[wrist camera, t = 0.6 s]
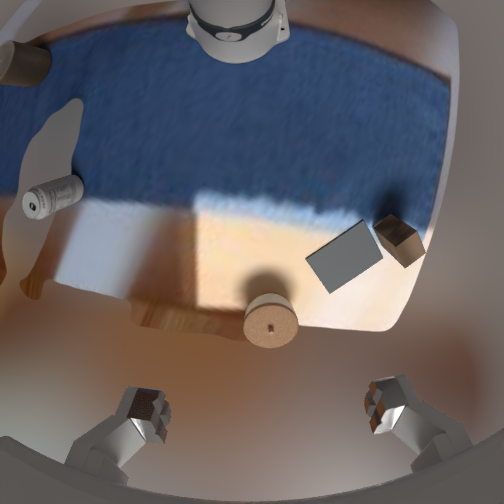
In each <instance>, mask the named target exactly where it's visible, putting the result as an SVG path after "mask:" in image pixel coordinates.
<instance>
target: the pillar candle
mask: <svg viewBox="0 0 504 504" xmlns="http://www.w3.org/2000/svg"><path fill="white" fill-rule="evenodd" d="M51 62H52V56H51V53H50V52H49V51H48V50H45V49H41V48H38V47H34V46H31V45H27V44H23V43H19V42H15V41H5V42H4V43H3V44H2V45H1V46H0V84H5V85H16V86H26V87H35V86H37V85H38V84H40V83H41V82H42V81H43V80H44V78H45V77H46V76H47V74H48V72H49V70H50V67H51Z"/></svg>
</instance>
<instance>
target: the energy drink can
mask: <svg viewBox="0 0 504 504" xmlns="http://www.w3.org/2000/svg"><path fill="white" fill-rule="evenodd" d="M83 190H84V186H83V183H82V181H81V179H80V178H79V177H77V176H76V175H69V176H65V177H63V178H59V179H56V180H52V181H49V182H46V183H43V184H40V185H37V186H34V187H32V188H31V189H30V190H29V191H28V192H27V193H26V194H25V196H24V197H23V210H24V212H25V214H26V215H27V217H29V218H31V219H34V218H35V219H42V218H44V217H46V216H48V215H50V214H52V213H54V212H56V211H58V210H60V209H62V208H64V207H66V206H69V205H71V204H73V203H75V202H77V201H79V200H80V199H81V197H82V194H83Z"/></svg>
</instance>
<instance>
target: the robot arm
mask: <svg viewBox="0 0 504 504" xmlns="http://www.w3.org/2000/svg"><path fill="white" fill-rule="evenodd" d="M188 1H189V2H190V10H191V13H190V15H188V21H189V23H188V25H187V28H186V32H187V34H188V35H189V36H191V37H192V38H194V39H196V40H197V41H198V42H199V43H200V45H201V47H202V48H203V49H204V51H205V52H206V53H207V54H209V55H210V56H211V57H213V58H215V59H217V60H220V61H223V62H228V63H244V62H249V61H252V60H255V59H257V58H259V57H261V56H263V55H264V54H265V53H267V52H268V51H269V50H270V49H271V48H272V47H273V46H274V45H276V44H278V43H281V42H283V41H286V40H287V39H288V38H289V36H290V32H289V25H288V19H287V12H286V6H285V1H284V0H188ZM281 28H284V30H281ZM369 390H370V391H368V392H367V393H366V395H365V400H364V406H365V411H366V414H367V415H369V416H370V417H371V419H370V422H369V423H370V426H371V429H372V432H373V435H374V434H379V433H383V432H387V431H392V432H393V433H394V434H395V435H396V436H398V437H399V438H400V439H401V440H402V441H403V442H404V443H406V444H407V445H408V446H409V447H410V448H411V449H413V450H414V451H415V452H416V453H417V454H419V455H418V457H417V458H416V459H415V460H414V461H413V462H412V464H411V465H410V466H411V469H412V471H413V473H412V474H409V475H406V476H403V477H401V478H397V479H394V480H391V481H388V482H384V483H381V484H377V485H373V486H370V487H365V488H361V489H357V490H353V491H348V492H343V493H338V494H333V495H326V496H319V497H312V498H304V499H295V500H282V501H260V502H259V501H258V502H242V501H241V502H240V501H217V500H205V499H194V498H187V497H179V496H173V495H167V494H161V493H155V492H151V491H146V490H142V489H138V488H133V487H129V486H127V482H128V476H127V475H126V474H125V473H124V472H123V471H122V470H120V467H121V466H122V465H123V464H124V463H125V462H126V461H127V460H128V459H129V458H130V457H132V455H134V454H135V453H136V452H137V451H138V450H139V449H140V448H141V447H142V446H143V445H144V444H145V443H146V442H152V443H159V444H165V439H166V436H167V430H166V428H165V426H167V425H168V424H169V423H170V419H171V408H170V404H169V402H167V401H166V400H165V397H166V396H165V393H164V391H159V390H150V389H144V388H137V387H128V388H126V390H125V392H124V395H123V397H122V399H121V402H120V404H119V406H118V409H117V411H116V414H115V416H114V415H111V416H110V417H108V418H107V419H106V420H104V421H103V422H101V423H100V424H98V425H97V426H96V427H94V428H93V429H91V430H90V431H88V432H87V433H85V434H84V435H82V436H81V437H79V438H78V439H77V440H75V441H74V442H73V445H72V447H71V449H70V451H69V454H68V456H67V458H66V461H65V463H64V464H62V463H60V462H57V461H55V460H53V459H51V458H49V457H47V456H45V455H42V454H40V453H38V452H37V451H35V450H32V449H31V448H29V447H27V446H25V445H23V444H22V443H20V442H18V441H16V440H15V439H13V438H11V437H9V436H3V437H0V504H504V428H503V429H501V430H499V431H498V432H496V433H495V434H493V435H491V436H490V437H488V438H486V439H485V440H483V441H481V442H479V443H478V444H476V445H474V446H473V445H472V443H471V440H470V439H469V436H468V434H467V432H466V430H465V428H464V426H463V425H462V424H461V423H459V422H458V421H456V420H455V419H453V418H451V417H449V416H447V415H446V414H444V413H443V412H441V411H439V410H438V409H436V408H434V407H433V406H431V405H429V404H427V403H426V402H424V401H421V402H420V400H419V398H418V396H417V394H416V392H415V390H414V388H413V386H412V384H411V383H410V381H409V379H408V377H407V375H406V374H401V375H397V376H391V377H388V378H383V379H378V380H373V381H371V382H370V384H369Z"/></svg>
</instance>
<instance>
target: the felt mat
mask: <svg viewBox="0 0 504 504" xmlns="http://www.w3.org/2000/svg"><path fill="white" fill-rule="evenodd" d="M381 259H383V256H382V254H381V252H380V250H379V249H378V247H377V245H376V243H375V241H374V239H373V237H372V235H371V233H370V232H369V230H368V228H367V226H366V224H365V222H364V221H363V220H362V221H361V222H359V223H358V224H356V225H355V226H353V227H352V228H351V229H349V230H348V231H346V232H345V233H343V234H342V235H340V236H339V237H337V238H336V239H334V240H333V241H332V242H330V243H329V244H327V245H326V246H324V247H323V248H321V249H320V250H318V251H317V252H315V253H314V254H312V255H311V256H309V257H308V258H306V261H307V262H308V264H309V265H310V266H311V268H312V269H313V271H314V272H315V274H316V275H317V276H318V278H319V279H320V281H321V282H322V284H323V285H324V286H325V288H326V289H327V291H328V292H329V294H330V293H332V292H333V291H335V290H337V289H338V288H340V287H341V286H343V285H344V284H346V283H347V282H349V281H350V280H352V279H353V278H355V277H356V276H358V275H359V274H361V273H362V272H364V271H365V270H367V269H368V268H370V267H371V266H373V265H374V264H375V263H377V262H378V261H380V260H381Z"/></svg>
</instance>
